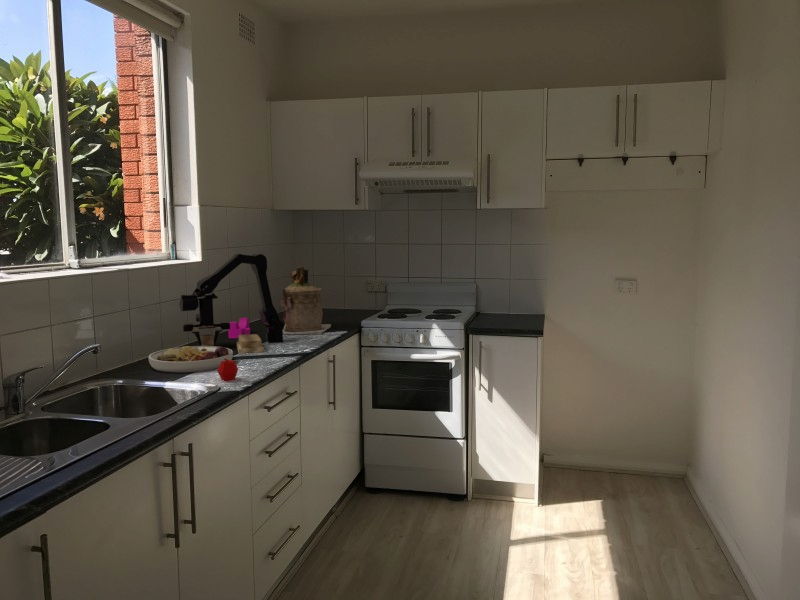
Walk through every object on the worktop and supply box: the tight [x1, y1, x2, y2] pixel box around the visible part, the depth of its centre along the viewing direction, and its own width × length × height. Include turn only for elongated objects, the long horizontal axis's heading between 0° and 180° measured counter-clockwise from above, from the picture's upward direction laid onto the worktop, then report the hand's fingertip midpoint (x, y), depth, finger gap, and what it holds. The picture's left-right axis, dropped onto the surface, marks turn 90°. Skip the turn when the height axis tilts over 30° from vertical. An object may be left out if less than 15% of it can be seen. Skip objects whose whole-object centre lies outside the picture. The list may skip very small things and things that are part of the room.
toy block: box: [227, 317, 251, 339], centre depth 315 cm, size 15×6×8 cm, turn 170°
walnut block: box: [200, 333, 214, 346], centre depth 282 cm, size 5×5×6 cm
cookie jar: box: [280, 265, 332, 336], centre depth 326 cm, size 25×25×32 cm
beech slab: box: [236, 341, 265, 355], centre depth 281 cm, size 10×18×3 cm, turn 17°
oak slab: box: [237, 333, 263, 349], centre depth 280 cm, size 8×16×3 cm, turn 18°
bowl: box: [148, 345, 234, 373], centre depth 251 cm, size 30×30×8 cm
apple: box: [217, 358, 239, 382], centre depth 226 cm, size 7×7×8 cm
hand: (207, 346), depth 282 cm, fingers closed on walnut block, 5 cm apart
